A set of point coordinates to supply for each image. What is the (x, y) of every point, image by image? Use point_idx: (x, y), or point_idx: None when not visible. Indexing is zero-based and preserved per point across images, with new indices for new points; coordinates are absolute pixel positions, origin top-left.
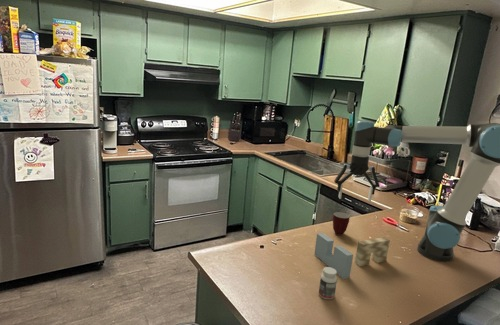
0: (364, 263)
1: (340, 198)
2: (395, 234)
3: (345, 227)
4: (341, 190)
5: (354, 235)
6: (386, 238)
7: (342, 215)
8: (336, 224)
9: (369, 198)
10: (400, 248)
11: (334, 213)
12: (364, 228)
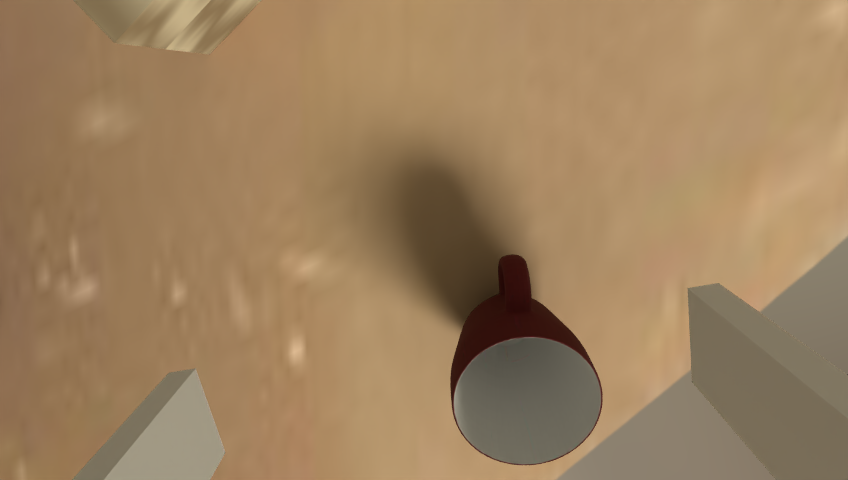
0: None
1: (702, 291)
2: None
3: (471, 319)
4: (814, 377)
5: (397, 335)
6: (95, 17)
7: (510, 445)
8: (550, 313)
9: (172, 409)
10: (97, 264)
11: (589, 426)
12: (335, 468)
